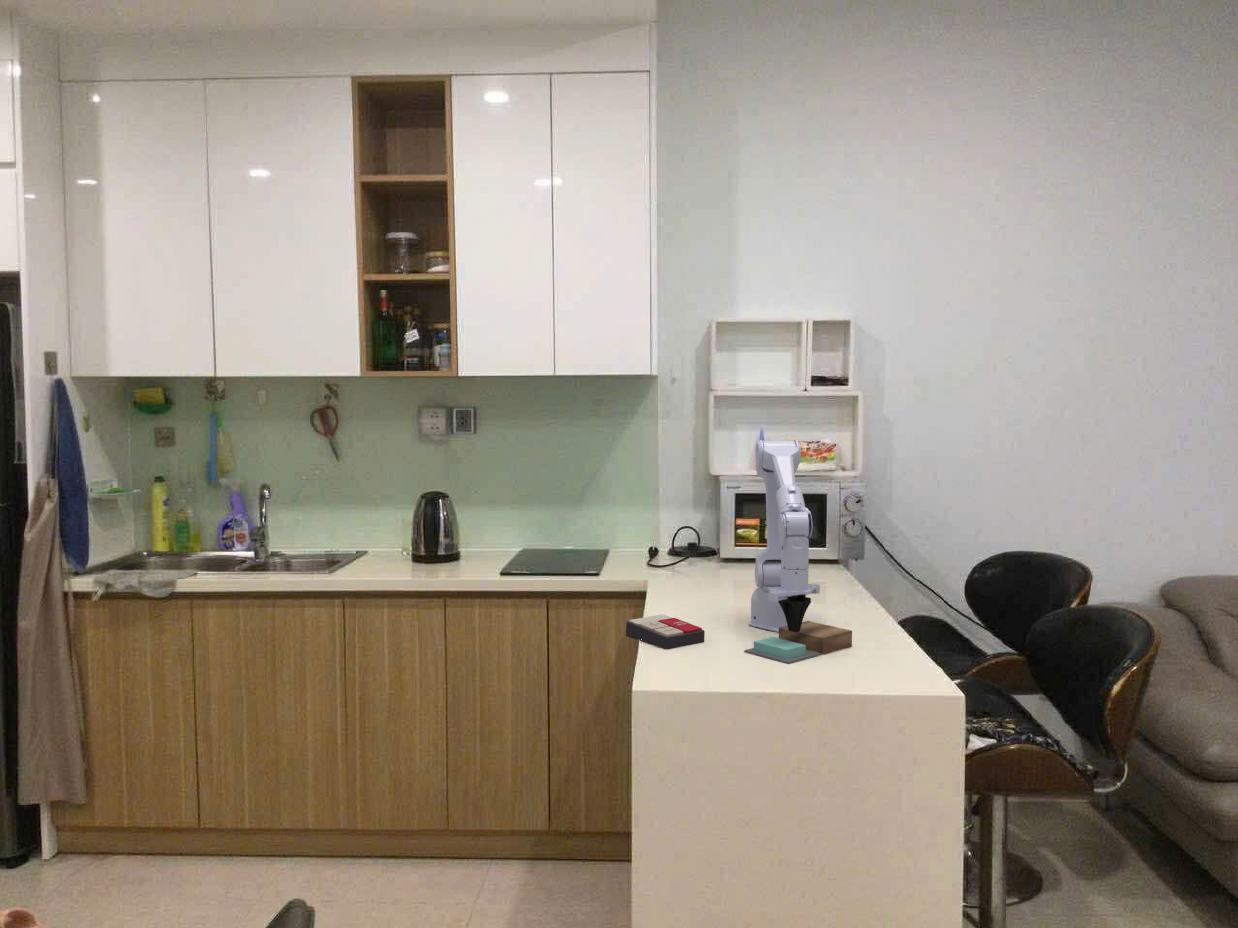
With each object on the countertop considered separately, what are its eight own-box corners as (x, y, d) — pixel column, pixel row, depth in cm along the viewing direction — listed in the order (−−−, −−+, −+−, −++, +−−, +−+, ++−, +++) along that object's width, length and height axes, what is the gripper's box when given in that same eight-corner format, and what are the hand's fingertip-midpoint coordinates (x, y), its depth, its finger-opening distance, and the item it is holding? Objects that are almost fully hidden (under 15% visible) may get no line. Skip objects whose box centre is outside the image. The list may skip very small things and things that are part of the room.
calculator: (666, 634, 196) (625, 617, 208) (666, 654, 196) (625, 636, 208) (705, 627, 202) (663, 611, 214) (705, 646, 202) (663, 629, 215)
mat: (744, 651, 194) (744, 650, 194) (777, 643, 201) (777, 641, 201) (788, 663, 185) (788, 662, 185) (821, 654, 191) (821, 653, 191)
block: (772, 636, 197) (772, 645, 197) (753, 641, 193) (753, 650, 193) (805, 645, 190) (805, 654, 190) (787, 649, 186) (786, 659, 186)
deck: (778, 643, 201) (778, 627, 201) (807, 636, 207) (807, 620, 207) (822, 654, 192) (823, 638, 192) (851, 646, 198) (852, 630, 198)
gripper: (787, 574, 186) (786, 640, 187) (831, 566, 196) (830, 629, 196) (760, 569, 192) (760, 633, 192) (805, 562, 201) (804, 623, 202)
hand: (794, 630), depth 195 cm, fingers closed
